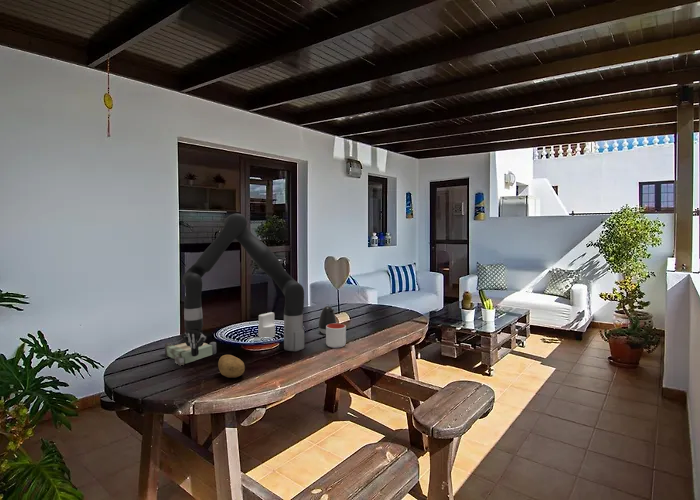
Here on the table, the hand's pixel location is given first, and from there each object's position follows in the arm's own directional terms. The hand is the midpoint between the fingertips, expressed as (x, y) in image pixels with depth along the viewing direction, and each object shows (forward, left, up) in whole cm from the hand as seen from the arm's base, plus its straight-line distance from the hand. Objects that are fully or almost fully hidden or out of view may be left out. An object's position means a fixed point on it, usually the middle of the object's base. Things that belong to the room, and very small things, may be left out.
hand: (195, 355), depth 178 cm
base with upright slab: (+6, -46, -3) cm, 47 cm away
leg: (+3, -5, -3) cm, 6 cm away
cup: (-33, -58, -3) cm, 67 cm away
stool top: (+11, -2, -3) cm, 11 cm away
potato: (-26, -1, -3) cm, 26 cm away
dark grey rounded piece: (-16, -71, -3) cm, 73 cm away
